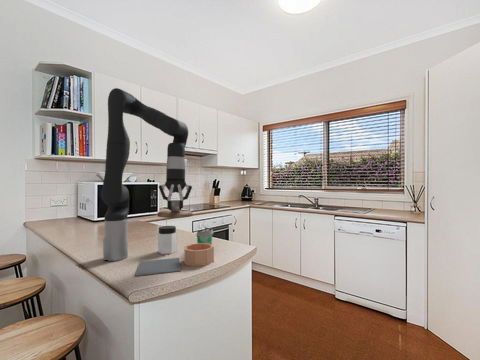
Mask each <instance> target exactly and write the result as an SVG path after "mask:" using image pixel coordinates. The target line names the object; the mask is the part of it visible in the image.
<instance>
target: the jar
mask: <svg viewBox="0 0 480 360" xmlns="http://www.w3.org/2000/svg"><path fill="white" fill-rule="evenodd" d="M177 251H178V232H177V227H176V226H175V225H164V226H159V227H158V233H157V253H159V254H161V255H169V254H173V253H175V252H177Z"/></svg>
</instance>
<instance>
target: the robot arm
mask: <svg viewBox="0 0 480 360" xmlns="http://www.w3.org/2000/svg"><path fill="white" fill-rule="evenodd" d="M124 114H126V115H131V116H134V117H138V118H140V119H142V120H143V121H144V122H145V123H146V124H149V125H150V126H152V127H154V128H156V129H158V130H160V131H161V132H163V133H164V134H166V135H167V136H170V137H173V139H172V142H169V143H168V144H167V153H166V155H167V156H166V157H167V158H166V169H165V170H166V176H165V177H166V178H165V182H164V184H161V185H158V189H159V191H160V194H161V197H162V199H163V200H165V201H167V203H166V205H167V206H166V208H167V209H168V211H171V199H172V195H173V193H178V196H179V200H180V211H182V209H184V201H185V200H188V198H189V196H190V194H191V192H192V191H191V190H192V189H193V186H192V185H189V184H187V183H186V160H185V159H186V157H185V155H186V149H185V148H186V145H187V142H188V137H189V127H188V124H186V123H185V122H183V121H181V120H178V119H176V118H173V117H171V116H169V115H168V114H166V113H165V112H162V111H160V110H158V109H156V108H155V107H151V106H148V105H146V104H144V103H143V102H141V101H140V100H139V99H137V97H135V96H134V95H133V94H131V93H130V92H128V91H125V90H124V89H121V88H118V87H114V88H112V89H111V91H110V92H109V93H108V98H107V117H108V118H107V119H108V120H107V121H108V123H107V125H108V126H107V138H106V149H105V151H106V152H105V153H106V155H105V169H104V177H103V182H102V188H101V199H102V202H104V204H105V205H107V210H106V213H105V214H104V238H103V240H102V242H103V243H102V246H103V247H102V248H103V249H102V250H103V252H102V253H103V255H102V256H103V257H102V258H103V260H108V261H107V262H114V261H115V262H116V261H122V260H124V259H127V258H129V257H128V256H129V255H128V254H129V250H128V247H129V245H128V244H129V243H128V240H129V239H128V215H129V211H130V191H129V189H128V187H126V186H125V185H123V175H124V171H125V167H126V165H127V163H128V161H129V157H130V149H131V141H130V138H129V137H130V136H129V135H128V131H127V130H126V127H125V123H124ZM165 188H166V189H167V190H168V191H169V192H168V195H167V196H166V194H165V191H164V190H165ZM185 188H186V193H185V195H184V196H183V190H184V189H185Z"/></svg>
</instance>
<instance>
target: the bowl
mask: <svg viewBox="0 0 480 360" xmlns="http://www.w3.org/2000/svg"><path fill="white" fill-rule="evenodd" d="M214 251H215V249H214V245H213V243H212V244H206V243H191V244H187V245H185V246H183V252H184V253H183V260H184V265H187V266H192V267H198V266H199V267H200V266H201V267H202V266H207V265H209V264H211V263H213V262H214V261H215V254H214V253H215V252H214Z"/></svg>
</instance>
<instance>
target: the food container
mask: <svg viewBox="0 0 480 360" xmlns="http://www.w3.org/2000/svg"><path fill="white" fill-rule="evenodd" d="M213 234H214V230H213V228H211V227H204V229H203V230H201V231H196V237H197V238H196V239H197V240H196V242H197V243H206V244H212V245H213V242H212V241H213ZM197 243H196V244H197Z"/></svg>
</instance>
